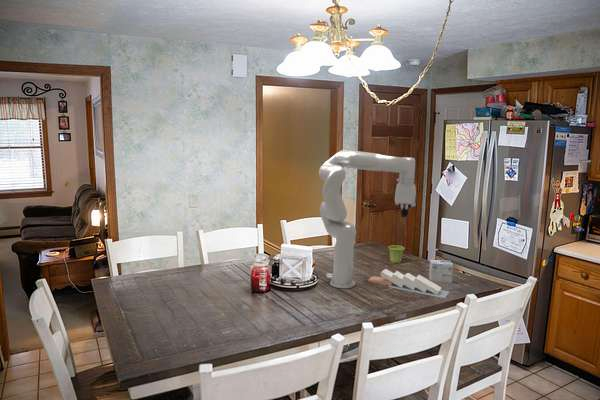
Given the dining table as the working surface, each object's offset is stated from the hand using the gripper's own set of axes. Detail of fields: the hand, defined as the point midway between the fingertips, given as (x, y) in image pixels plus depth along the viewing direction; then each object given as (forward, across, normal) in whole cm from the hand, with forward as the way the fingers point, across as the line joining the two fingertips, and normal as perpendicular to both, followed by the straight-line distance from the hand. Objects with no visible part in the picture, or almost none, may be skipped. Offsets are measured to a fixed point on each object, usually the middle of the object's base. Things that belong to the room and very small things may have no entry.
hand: (404, 216), depth 234 cm
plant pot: (+32, -11, +24) cm, 42 cm away
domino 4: (+30, +19, -18) cm, 40 cm away
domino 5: (+30, +24, -18) cm, 43 cm away
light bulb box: (+32, +20, +2) cm, 38 cm away
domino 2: (+30, +8, -18) cm, 36 cm away
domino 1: (+30, +2, -18) cm, 35 cm away
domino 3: (+30, +13, -18) cm, 38 cm away
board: (+32, +14, -18) cm, 39 cm away
